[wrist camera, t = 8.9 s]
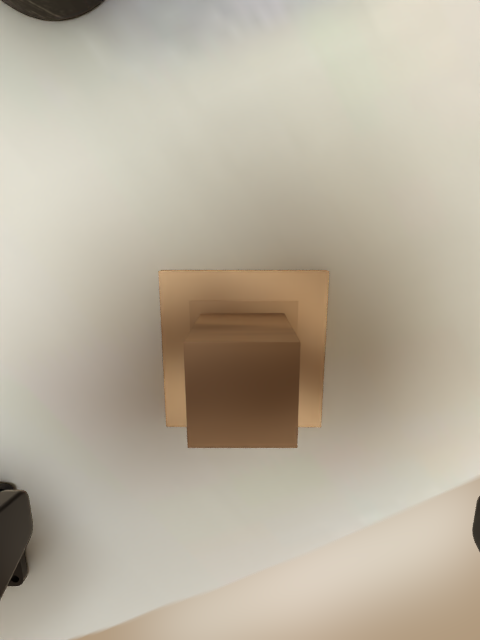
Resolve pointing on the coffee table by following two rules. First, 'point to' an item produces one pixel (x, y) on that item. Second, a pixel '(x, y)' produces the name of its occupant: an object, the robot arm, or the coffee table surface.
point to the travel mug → (53, 8)
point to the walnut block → (242, 381)
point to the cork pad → (245, 297)
